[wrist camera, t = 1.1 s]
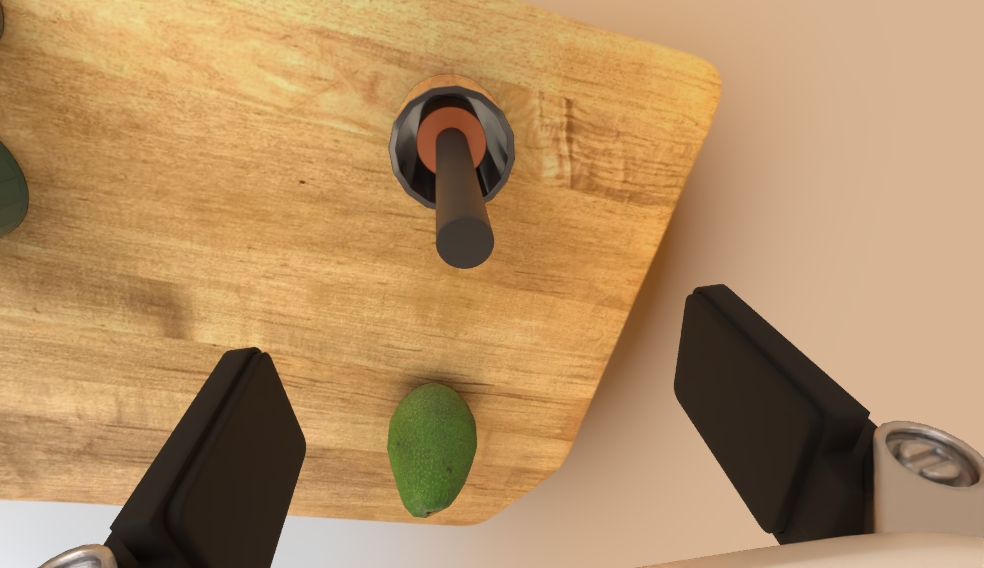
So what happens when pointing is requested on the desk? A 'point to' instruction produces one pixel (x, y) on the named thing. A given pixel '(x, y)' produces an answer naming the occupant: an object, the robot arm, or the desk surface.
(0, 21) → the bottle
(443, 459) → the fruit
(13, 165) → the jar
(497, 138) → the holder
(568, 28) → the desk surface
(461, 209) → the rod with orange collar
